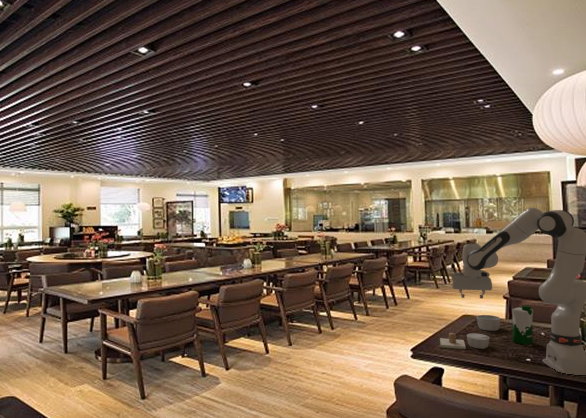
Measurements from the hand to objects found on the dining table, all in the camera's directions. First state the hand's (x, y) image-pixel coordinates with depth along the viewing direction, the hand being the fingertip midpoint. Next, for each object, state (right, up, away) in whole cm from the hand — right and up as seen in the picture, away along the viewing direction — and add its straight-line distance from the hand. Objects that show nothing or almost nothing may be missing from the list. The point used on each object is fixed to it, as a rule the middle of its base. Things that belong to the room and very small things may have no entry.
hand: (472, 298), depth 231 cm
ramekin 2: (0, -24, -8) cm, 25 cm away
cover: (-13, -23, -5) cm, 27 cm away
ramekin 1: (+21, -24, +25) cm, 41 cm away
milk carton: (+26, -24, -2) cm, 36 cm away
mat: (-13, -24, -5) cm, 28 cm away
